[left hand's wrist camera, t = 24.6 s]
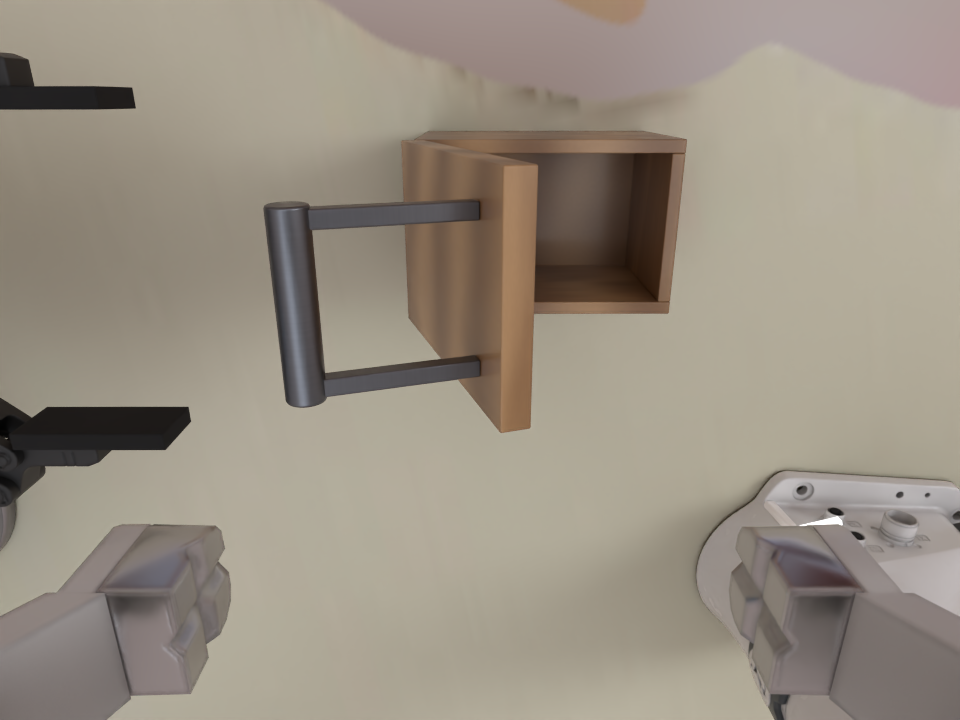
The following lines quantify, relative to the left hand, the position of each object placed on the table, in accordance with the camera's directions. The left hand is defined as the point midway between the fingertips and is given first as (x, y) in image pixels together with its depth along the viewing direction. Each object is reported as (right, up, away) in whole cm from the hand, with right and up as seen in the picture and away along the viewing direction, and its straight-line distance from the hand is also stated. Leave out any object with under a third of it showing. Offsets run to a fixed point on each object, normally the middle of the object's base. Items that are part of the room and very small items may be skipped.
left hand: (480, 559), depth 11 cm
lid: (0, +8, +19) cm, 21 cm away
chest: (+4, +14, +36) cm, 38 cm away
